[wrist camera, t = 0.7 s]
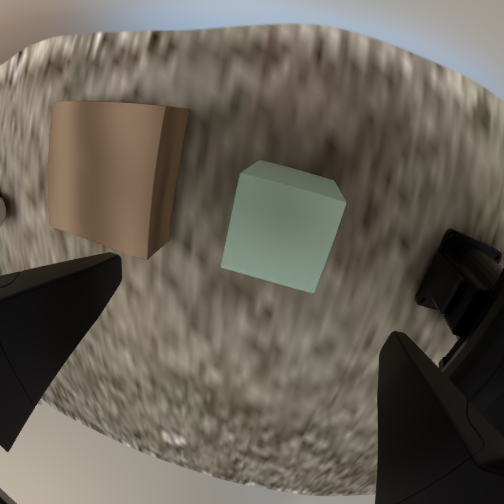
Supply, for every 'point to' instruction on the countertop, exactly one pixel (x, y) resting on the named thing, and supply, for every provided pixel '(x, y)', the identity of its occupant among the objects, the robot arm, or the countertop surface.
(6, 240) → the countertop surface
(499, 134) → the countertop surface
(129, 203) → the walnut base
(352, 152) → the countertop surface
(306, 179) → the sage block
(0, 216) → the donut
